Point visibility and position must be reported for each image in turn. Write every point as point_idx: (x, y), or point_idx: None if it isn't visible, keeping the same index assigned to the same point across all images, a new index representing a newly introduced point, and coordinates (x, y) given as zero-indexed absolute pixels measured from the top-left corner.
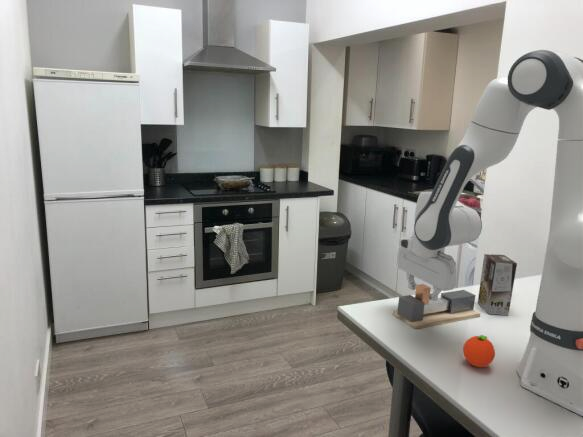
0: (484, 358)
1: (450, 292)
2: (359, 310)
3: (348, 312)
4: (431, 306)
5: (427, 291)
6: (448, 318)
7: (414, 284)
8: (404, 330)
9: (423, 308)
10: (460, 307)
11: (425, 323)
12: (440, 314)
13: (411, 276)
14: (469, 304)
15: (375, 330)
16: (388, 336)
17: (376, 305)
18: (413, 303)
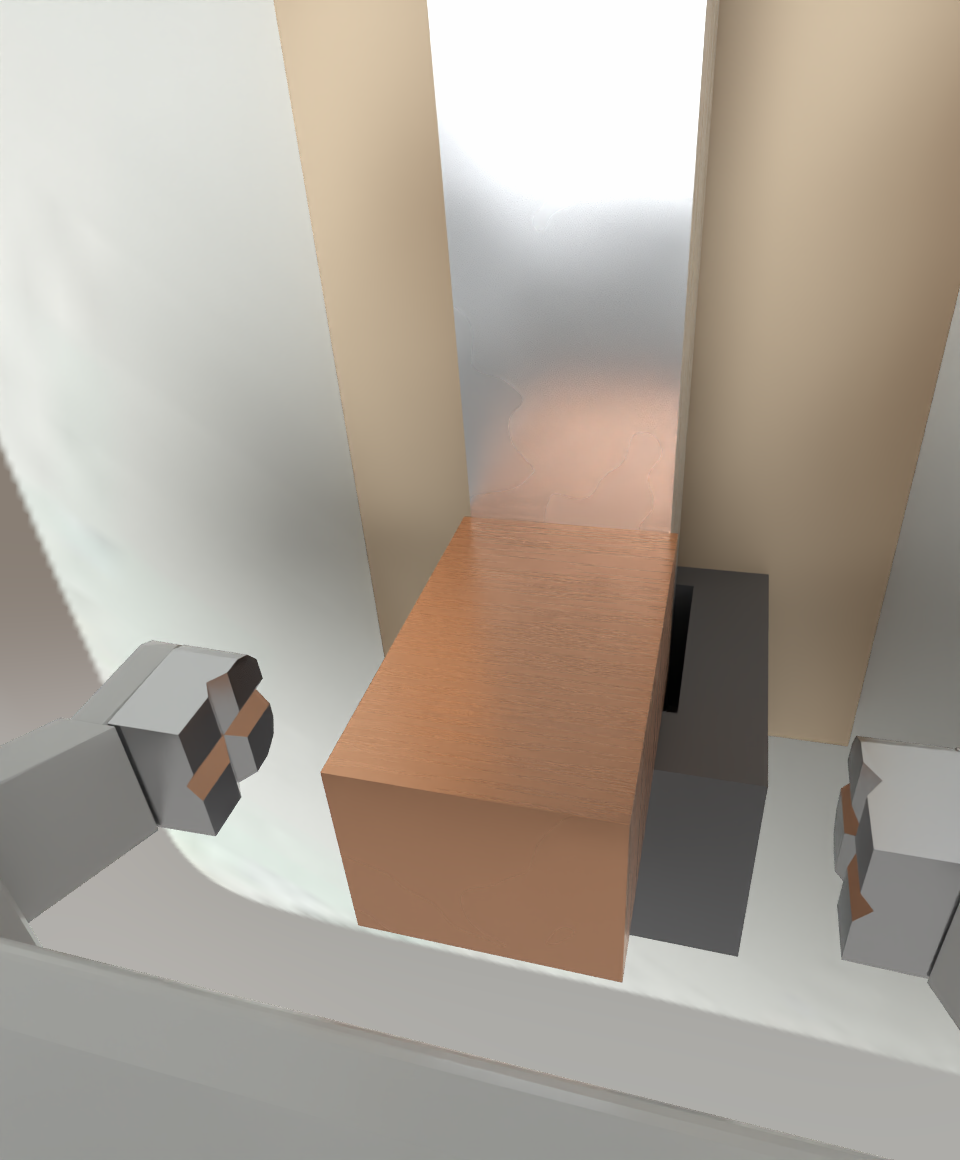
0: None
1: None
2: (265, 823)
3: (293, 901)
4: (680, 419)
5: (641, 816)
6: None
7: (201, 768)
8: (802, 816)
9: (766, 713)
10: None
11: (871, 609)
12: (731, 88)
13: (14, 918)
14: None
15: (669, 971)
16: (822, 979)
17: (161, 639)
18: (700, 924)
